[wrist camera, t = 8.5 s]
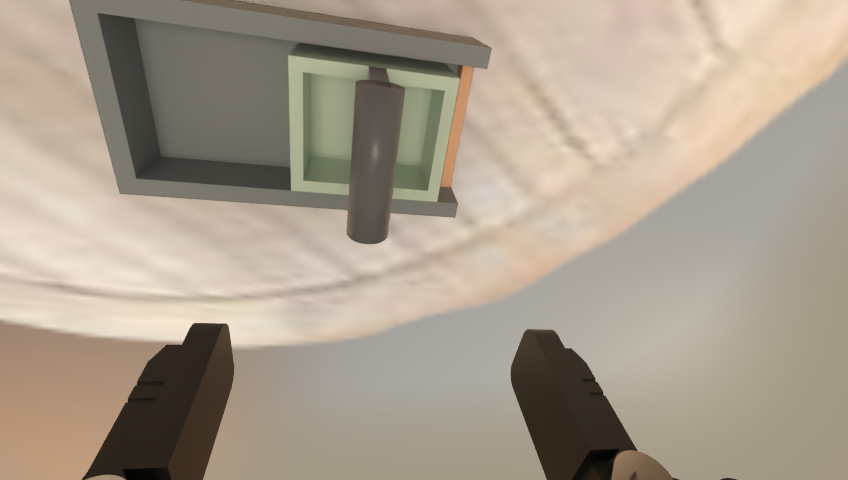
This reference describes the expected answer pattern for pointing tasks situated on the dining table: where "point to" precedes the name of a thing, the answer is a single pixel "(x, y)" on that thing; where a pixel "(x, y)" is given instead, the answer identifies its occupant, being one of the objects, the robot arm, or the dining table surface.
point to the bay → (232, 94)
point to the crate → (368, 130)
